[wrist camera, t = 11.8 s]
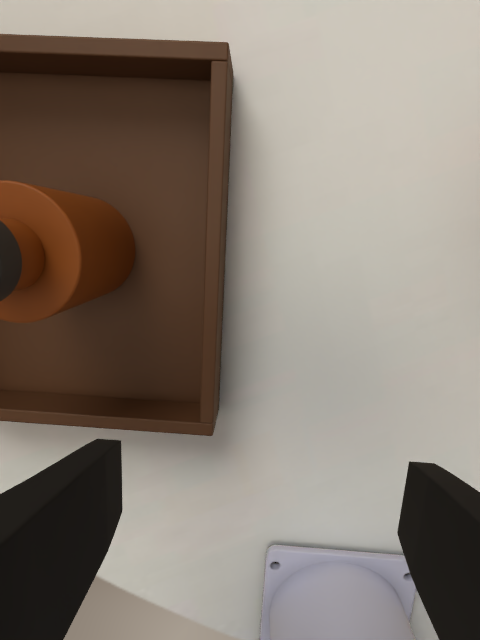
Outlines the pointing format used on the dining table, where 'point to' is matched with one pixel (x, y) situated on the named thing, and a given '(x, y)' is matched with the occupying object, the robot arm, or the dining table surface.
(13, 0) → the dining table surface
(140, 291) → the tray
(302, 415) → the dining table surface
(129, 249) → the bottle
